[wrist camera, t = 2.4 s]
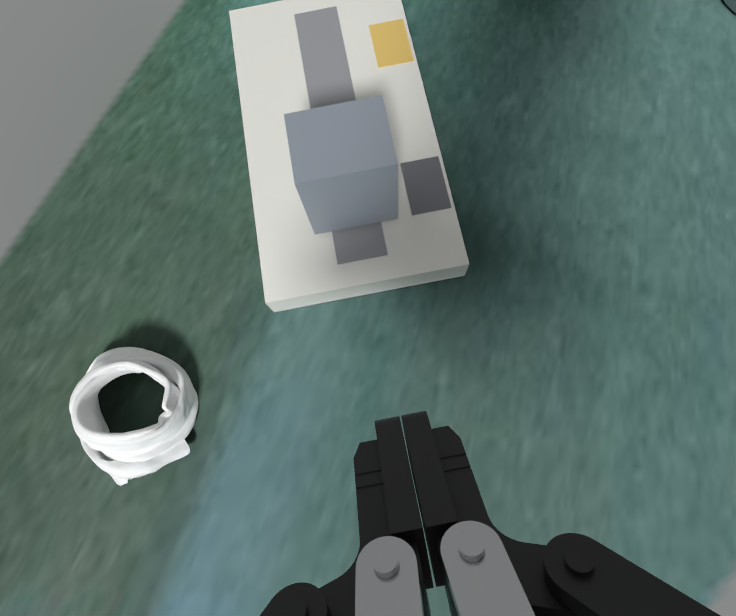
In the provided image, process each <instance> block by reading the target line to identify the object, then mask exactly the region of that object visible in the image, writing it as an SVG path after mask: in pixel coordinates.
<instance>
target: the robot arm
mask: <svg viewBox="0 0 736 616" xmlns="http://www.w3.org/2000/svg"><path fill="white" fill-rule="evenodd" d="M724 2H725V3H726V5H727V6H728V7H729V8H730V9H731V10H732V11H733V12H734V13H736V0H724ZM401 417H402V422H403V428H404V433H405V439H406V444H407V449H408V455H409V460H410V465H411V470H412V475H413V479H414V484H415V489H416V494H417V498H418V503H419V508H420V512H421V517H422V522H423V527H424V531H425V536H426V541H427V545H428V550H429V555H430V560H431V564H432V569H433V574H434V578H435V583H436V587H438V586H444V585H445V589H446V594H447V598H448V603H449V607H450V613H451V616H720V615H718V614H717V613H715V612H713V611H712V610H710V609H708V608H707V607H705V606H703V605H702V604H700V603H698V602H697V601H695V600H693V599H692V598H690V597H688V596H687V595H685V594H683V593H682V592H680V591H678V590H677V589H675V588H673V587H672V586H670V585H668V584H667V583H665V582H663V581H662V580H660V579H658V578H657V577H655V576H653V575H652V574H650V573H648V572H647V571H645V570H643V569H642V568H640V567H638V566H637V565H635V564H633V563H632V562H630V561H628V560H627V559H625V558H623V557H622V556H620V555H618V554H617V553H615V552H614V551H612V550H610V549H609V548H607V547H605V546H604V545H602V544H600V543H599V542H597V541H595V540H593V539H591V538H590V537H587V536H584V535H581V534H576V533H566V534H561V535H558V536H556V537H554V538H553V539H552V540H551V541H550V542H549V543H548V544H547V546H546V545H539V544H531V543H524V542H519V541H516V540H513V539H511V538H509V537H507V536H505V535H504V534H502V533H501V532H500V531H498V530H497V529H496V528H495V527H494V525H493V524H492V523H491V521H490V519H489V517H488V515H487V512H486V509H485V506H484V503H483V501H482V498H481V495H480V492H479V489H478V486H477V484H476V481H475V478H474V475H473V472H472V470H471V468H470V464H469V461H468V458H467V456H466V453H465V450H464V447H463V444H462V441H461V439H460V437H459V436H458V435H457V434H456V433H455V432H454V431H453V430H452V429H451V428H450V427H449V426H445V427H439V428H434V429H431V426H430V423H429V419H428V416H427V412H426V411H423V412H418V413H412V414H407V415H402V416H401ZM375 427H376V434H377V440H372V441H367V442H362V443H360V444H359V446H358V449H357V451H356V454H355V456H354V468H355V482H356V495H357V508H358V521H359V534H360V547H359V552H358V555H357V557H356V559H355V561H354V563H353V564H352V566H351V567H350V568H349V569H348V570H347V571H346V572H345V573H344V574H343V575H342V576H340V577H338V578H337V579H335V580H333V581H332V582H330V583H328V584H326V585H324V586H323V587H321V588H319V589H318V588H317V587H316V586H314V585H312V584H309V583H295V584H292V585H289V586H287V587H285V588H284V589H282V590H281V591H279V592H278V593H277V594H276V595H275V596H274V597H273V599H272V600H271V601H270V603H269V604H268V605H267V607H266V608H265V609H264V611H263V612H262V613H261V615H260V616H431V614H430V608H429V603H428V598H427V592H426V589H429V588H434V587H433V582H432V576H431V571H430V565H429V560H428V554H427V549H426V543H425V538H424V533H423V527H422V522H421V518H420V513H419V508H418V503H417V499H416V494H415V489H414V484H413V480H412V475H411V470H410V465H409V460H408V456H407V451H406V446H405V441H404V437H403V432H402V427H401V422H400V418H399V416H397V417H392V418H387V419H382V420H377V421H375Z"/></svg>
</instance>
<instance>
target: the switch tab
mask: <svg viewBox="0 0 736 616" xmlns="http://www.w3.org/2000/svg"><path fill="white" fill-rule="evenodd" d="M284 119H285V125H286V132H287V138H288V145H289V151H290V158H291V164H292V171H293V177H294V184H295V186H296V189H297V191H298V194H299V196H300V199H301V201H302V204H303V206H304V209H305V211H306V214H307V216H308V219H309V221H310V224H311V226H312V229H313V231H314V234H315V235H316V234H321V233H326V232H331V231H336V230H342V229H347V228H352V227H357V226H362V225H368V224H373V223H378V222H383V221H388V220H394V219H398V161H397V157H396V153H395V148H394V144H393V139H392V135H391V131H390V126H389V122H388V117H387V113H386V109H385V104H384V100H383V95H379V96H374V97H369V98H364V99H359V100H354V101H349V102H343V103H338V104H333V105H328V106H323V107H318V108H313V109H308V110H302V111H297V112H292V113H287V114H284Z"/></svg>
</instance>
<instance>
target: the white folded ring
mask: <svg viewBox="0 0 736 616" xmlns="http://www.w3.org/2000/svg"><path fill="white" fill-rule="evenodd" d="M141 372H143V373H146V374H147V375H149V376H151V377H152V378H153V379H154V380H156V381H157V382H159V383H160V384H161V385H163V386H164V387H165V392H164V396H163V402H162V408H163V410H165V412H163V413H162V414H161V415H160V416H159V418H158V423H157V424H154V425H151V426H149V427H146V428H143V429H138V430H134V431H129V432H125V433H110V432H109V428H108V426H107V424H106V422H105V420H104V418H103V415H102V413H101V410H100V405H99V400H98V394H99V392H100V390H101V389H102V388H103V387H104V386H105V385H106V384H107V383H109V382H110V381H112V380H113V379H115V378H117V377H119V376H121V375H125V374H128V373H141ZM69 410H70V414H71V417H72V423H73V426H74V430H75V432H76V434H77V435H78V436H79V437H80V440H81V444H82V446H83V449H84V450H85V451H86V453H87V454H88V456H89V457H90V458H91V459H92V460H93V462H94V463H95V464H96V465H97V466H98V467H100V468H101V469H102V470H104V471H105V472H107V473H109V474H110V475H111V477H112V478H113V479H114V481H115V482H116V483H117V485H120V486H121V485H123V484H126V483H127V482H128V481H127V480H128V479H132V478H136V477H141V476H144V475H146V474H149V473H153V472H155V471H157V470H159V469H160V468H161V467H163V466H164V465H166V464H168V463H170V462H172V461H175V460H177V459H180V458H182V457H184V456H186V455H188V454H189V452H190V448H189V446H188V444H187V443H186V441H185V440H184V439H185V438H186V437H187V436H188V435H189V433H190V431H191V429H192V428H193V426H194V423H195V420H196V415H197V411H198V396H197V393H196V391H195V389H194V387H193V385H192V383H191V380H190V378H189V376H188V375H187V373H186V372H185V370H184V369H183V368H182V367H181V366H180V365H179V364H177V363H176V362H174V361H173V360H171V359H169V358H167V357H165V356H163V355H161V354H158V353H155V352H153V351H149V350H146V349H143V348H136V347H121V348H115V349H111V350H109V351H106V352H104V353H102V354H101V355H99V356H98V357H97V358H96V359H95V360H94V361H93V363H92V364H91V366H90V368H89V369H88V371H87V372H86V375H85V376H84V377H83V378H82V379H81V380H80V381H79V383H78V384H77V385H76V387H75V389H74V391H73V393H72V395H71V398H70V404H69ZM110 459H111V460H113V461H111V460H110Z"/></svg>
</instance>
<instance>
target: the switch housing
mask: <svg viewBox="0 0 736 616" xmlns="http://www.w3.org/2000/svg"><path fill="white" fill-rule="evenodd" d="M229 13H230V21H231V30H232V38H233V46H234V54H235V62H236V70H237V78H238V86H239V94H240V102H241V110H242V118H243V126H244V134H245V142H246V150H247V158H248V166H249V174H250V183H251V191H252V199H253V207H254V215H255V223H256V231H257V239H258V247H259V255H260V263H261V271H262V279H263V287H264V295H265V303H266V304H267V305H268V306H269V307H270V308H271V309H272V310H273V311H274V312H277V311H282V310H288V309H293V308H298V307H303V306H309V305H314V304H319V303H324V302H330V301H335V300H340V299H345V298H350V297H356V296H361V295H366V294H371V293H377V292H382V291H387V290H392V289H398V288H403V287H408V286H413V285H419V284H424V283H429V282H434V281H439V280H445V279H450V278H455V277H460V276H465V274H466V271H467V269H468V266H469V260H468V257H467V253H466V249H465V245H464V241H463V237H462V233H461V230H460V226H459V222H458V218H457V214H456V210H455V206H454V203H453V199H452V195H451V191H450V187H449V183H448V179H447V175H446V172H445V168H444V164H443V160H442V156H441V152H440V148H439V145H438V141H437V137H436V133H435V129H434V125H433V121H432V117H431V114H430V110H429V106H428V102H427V98H426V94H425V90H424V87H423V83H422V79H421V75H420V71H419V67H418V63H417V60H416V56H415V52H414V48H413V44H412V40H411V36H410V32H409V29H408V25H407V21H406V17H405V13H404V9H403V5H402V2H401V0H282V1H277V2H272V3H267V4H262V5H257V6H252V7H247V8H242V9H237V10H232V11H229ZM379 95H383V100H384V104H385V109H386V113H387V117H388V122H389V126H390V131H391V135H392V139H393V144H394V148H395V153H396V157H397V161H398V219H394V220H388V221H383V222H378V223H373V224H368V225H362V226H357V227H352V228H347V229H342V230H336V231H331V232H326V233H321V234H316V235H315V234H314V231H313V229H312V226H311V224H310V221H309V219H308V216H307V214H306V211H305V209H304V206H303V204H302V201H301V199H300V196H299V194H298V191H297V189H296V186H295V184H294V177H293V171H292V164H291V158H290V151H289V145H288V138H287V132H286V125H285V119H284V114H287V113H292V112H297V111H302V110H308V109H313V108H318V107H323V106H328V105H333V104H338V103H343V102H349V101H354V100H359V99H364V98H369V97H374V96H379Z"/></svg>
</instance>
